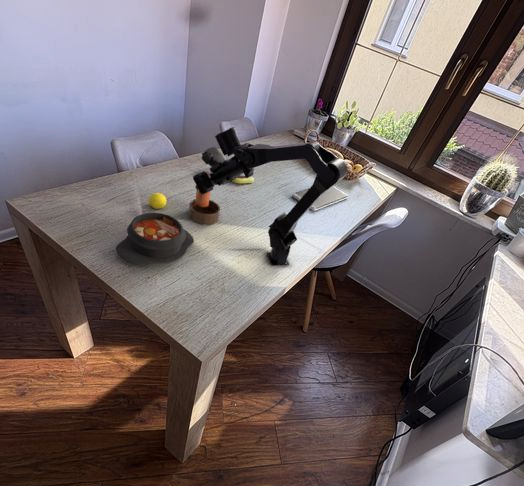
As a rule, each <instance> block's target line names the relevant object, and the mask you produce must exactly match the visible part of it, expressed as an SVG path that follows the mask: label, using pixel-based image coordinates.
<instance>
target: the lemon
mask: <svg viewBox="0 0 524 486" xmlns="http://www.w3.org/2000/svg"><path fill="white" fill-rule="evenodd" d="M148 204H149V205H150V207H151V208H152V209H155V210H159V209H163V208H164V207H165V206H166V205H167V197H166V196H165V195H164V194H163V193H161V192H155V193H152V194H151V195H149V197H148Z"/></svg>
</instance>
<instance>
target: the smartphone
mask: <svg viewBox="0 0 524 486" xmlns="http://www.w3.org/2000/svg"><path fill="white" fill-rule="evenodd" d="M309 189H310V187H309V188H306V189H303V190H300V191H296V192H293V193H292V195H291V196H292V198H294V199H295V200H297V202H298V201H299V200H300V199H301V198H302V197H303V196H304V194H305V193H306V192H307V191H308V190H309ZM348 198H349V195H348V193H347V194H346V193H345V192H344V191H342V190H341V189H338V188H337V187H336V186H335V185H333V186H332V187H330V188H329V189H328V190H326V191H325V192H324V193H323V194H322V195H321V197H320V198H319V199H318V200H317V201H316V202H315V203H314V204H313V205H312V206H311V207H310V209H309V210H312V211H314V212H315V211H317V210H320V209H323V208H325V207H329V206H330V205H334V204H336V203H339V202H341V201H344V200H346V199H348Z"/></svg>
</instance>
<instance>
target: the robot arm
mask: <svg viewBox="0 0 524 486" xmlns="http://www.w3.org/2000/svg"><path fill="white" fill-rule="evenodd" d="M214 138H215V140H216V142H217V144H218V146H219V148H220V150H221V152H222V153H221V152H220V151H219V150H218V148H217V147H215V146H212V147H208V148H206V150H205V151H204V152H201V155H202V156H201V160H202V162H203V163H205V165H209V168H208V169H209V171H211V172H212V173H210V174H209V176H210V177H211V178H210V177H209V176H208V174H207V173H206V172H204V171H203V172H201V171H200V172H198V173H195V174H194V175H193V176H192V180H193V181H194V183H195V186H194V188H195V189H196V190H199V191H200V193H201V194H202V195H204V194H206V193H208V192H210V191H211V192H212V191H214V187H215V186H218V187H220V186H223V185H226V184H227V183H228V184H229V182H232V180H234V179H236V178H238V176H239V175H241V176H242V175H243V176H245V177H246V178H249V177H252V176H254V173H255V172H254V170H255V168H258V167H261V166H264V165H266V164H269V163H274V162H284V161H285V162H287V161H298V160H305V161H307V163H308V164H309V167H311V169H312V172H314V173H315V174H316V176H315V178H314V180H313V183H312V185H311V186H310V187H309V188H310V189H309V188H308V189H309V190H308V191H307V192H306V193H305V194H304V196H303V197H302V198H301V199H300V200H299V201H298V200H297V203H295V204H294V206H293V207H292V208H291V209H290V210H289V212H288V213H286V212H282V213H281V214H280V215H278V216H277V217H275V219H274V220H273V222H272V223H271V224H270V225H268V231H267V233H268V237H269V247H270V248H271V250H270V251H269V252H266V253H265V255H266V256H267V258H268V261H269V263H270V265H271V266H275V267H276V266H289V265H290V261H289V260H288V258H289V254H290V251H291V246H293V244H295V243H296V242H297V241H298V238H297V236H296V234H295V231H294V230H295V229H296V227H297V226H298V222H299V221H300V220H301V219H302V218H303V217H304V215H305V214H306V213H307V212H308V211H309V210H311V209H310V207H311V206H312V205H313V204H314V203H315V202H316V201H317V200H318V199H319V198H320V197H321V195H322V194H323V193H324V192H325V191H326V190H328V189H329V188H330V187H332V186H335V185H336V184H337V183H338V182H340V181H341V180H343V179H344V178H345V177H346V176H347V174H348V171H349V170H348V169H349V168H348V164H347V163H346V161H345V160H344V159H342V158H340V157H338V156H337V155H336V154H335V153H333V152H332V151H330V150H328V149H326V148H325V147H323V146H322V145H321V144H320V143H319V142H317V141H316V140H311V141H309V142H302V143H293V144H283V145H270V144H264V143H255V144H252V143H248V142H244V143H243V144H242V142H241V139H240V137H239V135H238V133H237V129H236V127H235V126H233V127H230V128H228V129H226V130H224V131H222V132H219V133H217V134H216V135H215V136H214ZM232 155H233V156H232ZM225 156H227V157H230V158H227V159H226V158H225ZM231 156H232V157H231Z"/></svg>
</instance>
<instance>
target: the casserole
mask: <svg viewBox="0 0 524 486" xmlns="http://www.w3.org/2000/svg"><path fill="white" fill-rule="evenodd" d="M126 233H127V235H126V237H125V238H124V239H123V240H122V241H120V242H119V243H117V244H116V246H115V252H116V254H117V255H118V257H119V258H120V259H121V260H123V261H124V262H126V263H128V264H130V265H132V266H136V267H146V266H150V265H158V264H159V265H160V264H168V263H173V262H175V261H178V260H180V259H181V258H182V257H184V256H185V255H186V253H187V252H188V249H189V248H190V247H191V246H192V245H193V244H194V242H195V240H194V237H193V236H192V234H191V233H190V232H189V231H187V230H186V229H184V227H183V225H182V223H181V222H180V221H179V220H178V219H177V218H175V217H173V216H171V215H170V214H165V213H161V212H144V213H142V214H139V215H137V216H135V217H133V219H132V220H131V222H130V223H129V225H128V226H127V229H126Z"/></svg>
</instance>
